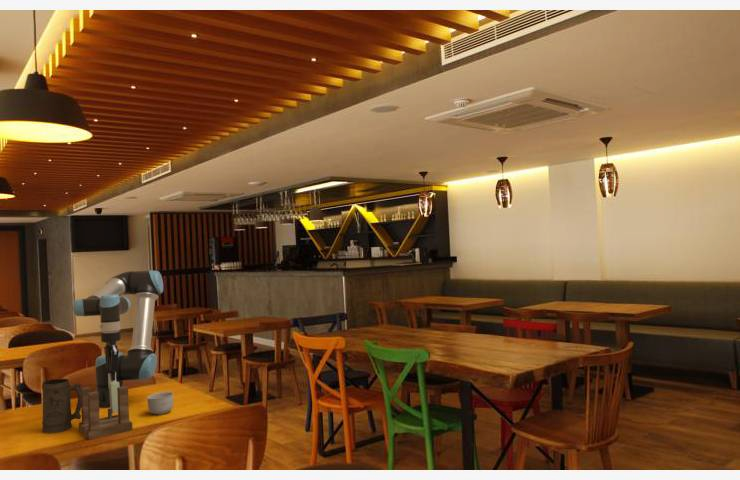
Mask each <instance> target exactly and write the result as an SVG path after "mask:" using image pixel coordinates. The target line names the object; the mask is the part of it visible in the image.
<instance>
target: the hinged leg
mask: <svg viewBox="0 0 740 480" xmlns="http://www.w3.org/2000/svg"><path fill="white" fill-rule="evenodd" d="M118 387H120V386H119V382H112V383H109V392H110V407H109V409H111V410H112V414H116V413H117V414H118V395H117V388H118Z"/></svg>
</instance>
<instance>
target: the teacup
mask: <svg viewBox="0 0 740 480" xmlns="http://www.w3.org/2000/svg"><path fill="white" fill-rule="evenodd" d="M146 399H147V406H148V407H147V408H148V410H149V412H150V413H151V414H153V415H154V416H155V415H156V416H158V415H164V414H167V413H169V412H170V411H171V410H172V409H173V407H174V393H173V392H172V391H163V392H156V393H152V394H150V395H148V396H147V397H146Z"/></svg>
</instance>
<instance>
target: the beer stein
mask: <svg viewBox="0 0 740 480" xmlns="http://www.w3.org/2000/svg"><path fill="white" fill-rule="evenodd" d="M81 388H82V387H81V383H80V382H79V383H78V382H77V383H75V384H73V385H71V384H70V380H69V379H68V378H55V379H49V380H46V381H42V384H41V389H42V422H41V424H42V427H41V431H42V433H46V434H54V433H61V432H66V431H67V430H70V429H71V428H72V426H73V425H72V424H73V423H72V420H74V419H76V420H81V419H82V414H81ZM71 391H75V392H76V395H77V403H76V407H75V410H74V412H73V413H72V403H71V402H72V401H71Z"/></svg>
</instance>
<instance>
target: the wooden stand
mask: <svg viewBox="0 0 740 480" xmlns="http://www.w3.org/2000/svg"><path fill="white" fill-rule="evenodd" d="M117 395H118V412H117V414H116V415H115V414H114V415H113V413H112V410H111V409H110V408H107V416H105V417H101V418H100V407H99V393H98V392H97V391H96V390H95V391H92V387H91V386H84V387H81V409H80V414H81V422H78V430H79V431H80V433H81V434H82V435H83V436H85V437H86V438H87V440H88V441H90V440H94V439H99V438H103V437H108V436H113V435H116V434H121V433H126V432H129V431H133V422H132V421H131V420H130V409H129V407H130V406H129V405H130V404H129V387H128V386H126V385H123V387H118V388H117Z"/></svg>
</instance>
